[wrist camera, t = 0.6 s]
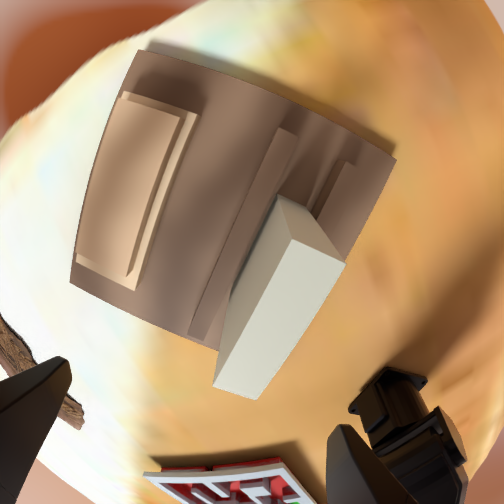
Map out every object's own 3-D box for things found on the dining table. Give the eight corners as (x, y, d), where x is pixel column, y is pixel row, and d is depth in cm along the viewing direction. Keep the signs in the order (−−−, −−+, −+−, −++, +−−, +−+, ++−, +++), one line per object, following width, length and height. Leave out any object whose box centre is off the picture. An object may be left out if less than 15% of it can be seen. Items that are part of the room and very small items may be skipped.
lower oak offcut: (201, 116, 16) (197, 114, 15) (140, 283, 20) (134, 291, 19) (131, 93, 15) (123, 90, 14) (83, 255, 19) (75, 261, 18)
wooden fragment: (103, 423, 29) (101, 429, 28) (65, 429, 31) (62, 434, 30) (-26, 258, 21) (-32, 262, 20) (-43, 294, 24) (-48, 297, 23)
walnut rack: (390, 158, 17) (411, 162, 14) (274, 362, 23) (275, 388, 20) (143, 53, 15) (126, 40, 12) (75, 277, 21) (56, 293, 18)
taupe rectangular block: (305, 207, 18) (346, 263, 9) (258, 299, 20) (255, 400, 11) (276, 193, 17) (291, 238, 9) (230, 288, 20) (212, 386, 11)
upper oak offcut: (185, 119, 15) (180, 117, 14) (132, 269, 18) (125, 277, 17) (127, 100, 14) (118, 97, 13) (84, 246, 18) (75, 252, 16)
